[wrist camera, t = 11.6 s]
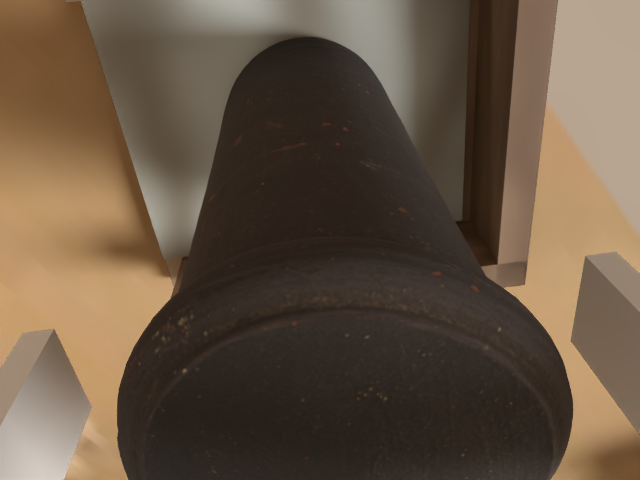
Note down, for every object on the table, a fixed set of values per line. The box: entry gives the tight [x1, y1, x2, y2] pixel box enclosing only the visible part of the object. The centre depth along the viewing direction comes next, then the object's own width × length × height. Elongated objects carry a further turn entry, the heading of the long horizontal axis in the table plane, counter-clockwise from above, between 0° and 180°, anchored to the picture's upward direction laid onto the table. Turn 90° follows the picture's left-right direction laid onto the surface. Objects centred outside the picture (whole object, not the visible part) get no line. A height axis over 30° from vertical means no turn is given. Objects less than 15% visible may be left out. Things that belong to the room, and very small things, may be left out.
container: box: [117, 37, 573, 480], centre depth 18 cm, size 9×9×20 cm
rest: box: [66, 0, 558, 298], centre depth 25 cm, size 20×18×6 cm
